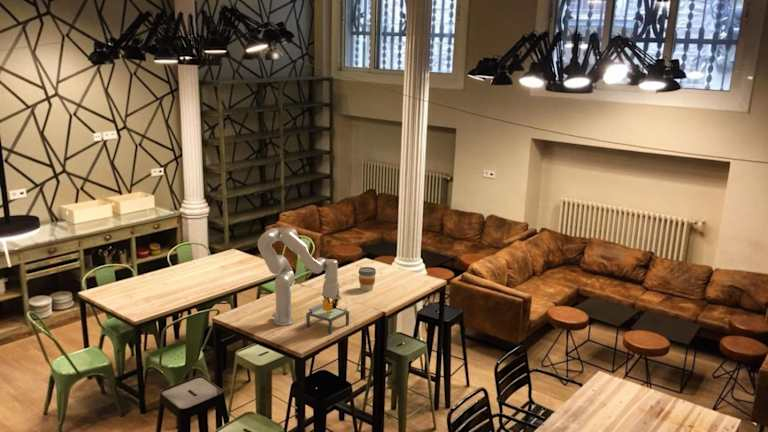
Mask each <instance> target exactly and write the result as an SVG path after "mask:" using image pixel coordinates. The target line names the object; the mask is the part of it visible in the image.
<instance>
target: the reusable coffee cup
mask: <svg viewBox="0 0 768 432" xmlns="http://www.w3.org/2000/svg"><path fill="white" fill-rule="evenodd" d="M376 274H377V271H376V268H374V267H370V266H363V267H360V268H358V281H359V286H360V290H361V291H362V292H371V291H373V290H374V284H375V281H376Z"/></svg>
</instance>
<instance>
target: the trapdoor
mask: <svg viewBox="0 0 768 432" xmlns="http://www.w3.org/2000/svg"><path fill="white" fill-rule="evenodd" d="M308 312H312V313H311V314H314V315H318V316H321V317H325V318H328V319H332V318H334V317H336V316H338V315H340V314H342V313H344V312H345V311H341V310H337V309H333V310H330V311H325V310H323V303H318V304H316V305H314V306H311V307H310V308H308Z"/></svg>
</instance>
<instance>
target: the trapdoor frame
mask: <svg viewBox="0 0 768 432" xmlns="http://www.w3.org/2000/svg"><path fill="white" fill-rule="evenodd" d="M335 309H337V310H341V311H345V312H344V313H342V314H340V315H338V316H336V317H334V318H332V319H328V318H325V317H321V316H318V315H314V314H311V313H312V312H311V311H308V312H306V316H305V317H306V318H305V319H306V320H305V323H306V328H310V327H311V326H310V325H311V317H313V318H315V319H319V320H323V321H326V322H328V334H329V335H332V334H333V322H334V321H336V320H338V319H340V318H341V317H344V316H345V326H349V325H350V311H349V310H346V309H344V308H343V309H342V308H339V307H336V308H335Z"/></svg>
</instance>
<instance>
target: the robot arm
mask: <svg viewBox="0 0 768 432" xmlns="http://www.w3.org/2000/svg"><path fill="white" fill-rule="evenodd" d="M298 236H299V235H298V231H297V229H296V228H293V227H271V228H270V229H268V230H267V231H265V232H263V233H262V234H261V236H260V237H259V238H258V240H257V248H258V251H259V252H260V255H261V256H262V259H263V260H264V263H265V264H266V266H267V268H268V270H269V272H270V273H271V274H273V275H277V274H278V275H277V276H276V278H275V280H274V283H273V284H274V290H275V292H274V293H275V312H272V314H271V317H272V318H274V319H273V324H274V325H277V326H280V327H282V326H283V327H284V326H285V327H286V326H289V325H293V323H294V321H295V320H294V319H293V318H292V293H291V292H292V291H291V286H292V284H293V283H294V282H295V279H296V276H295V275H296V274H295V273H294V270H293V268H292V266H291V264H290V262H289V260H288V259H287V258H286V257H285V256H284V255H282V254H278V253H277V252H276V250H275V248H274V247H273V246H272V245H273V244H275V243H276V242H278V241H279V242H282V244H283V245H285V246H286V247H287V248H288V249H289V250H291V251H292V252H294V254H295V255H297V257H298V259H299V260H300V262H301V264H303V266H304V267H305V268H306V269H307V270H309V271H310V272H312V273H313V274H321V273H322V272H323V271H325V273H324V276H323V278H324V281H323V285H322V293H321V296H322V297H323V300H324V299H326V300H328V303H330V302H331V301H330V299H331V300H332V299H333V309H335V308H338V306H337V302H338V303H339V301H340V300H341V299H342V297H341V295H340V285H339V282H338V280H339V279H338V277H339V276H338V274H339V273H338V271H339V270H338V268H339V263H338V260H337V259H333V258H331V259H328V258H326V257H325V258H324V257H317V258H316V259H315V258H314V257H313V256H312V255H311V254H310V252H309V249H308V248H309V247H308V245H307V244H306V243H305V242H304V240H302V239H300V238H299V237H298ZM337 297H338V299H337Z"/></svg>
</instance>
